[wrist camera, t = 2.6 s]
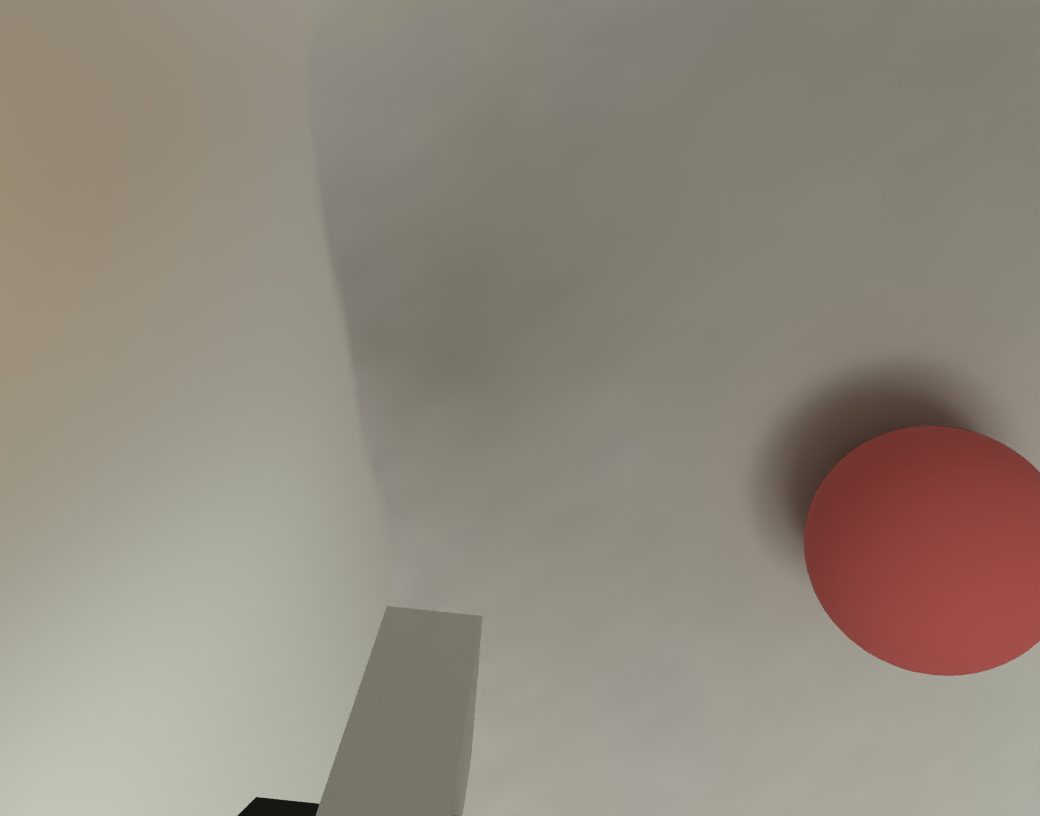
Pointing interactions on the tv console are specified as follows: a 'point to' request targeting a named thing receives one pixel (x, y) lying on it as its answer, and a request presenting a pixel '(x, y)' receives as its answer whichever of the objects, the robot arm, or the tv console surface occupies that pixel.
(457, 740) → the robot arm
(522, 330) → the tv console surface
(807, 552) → the ball
